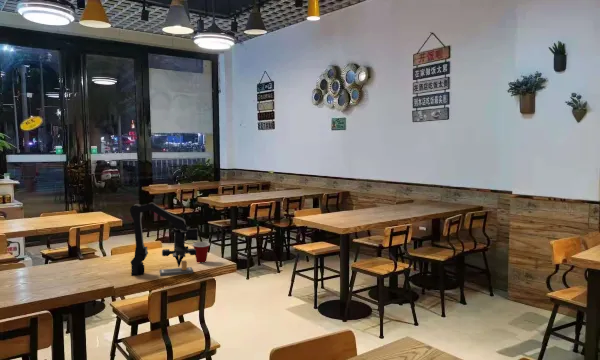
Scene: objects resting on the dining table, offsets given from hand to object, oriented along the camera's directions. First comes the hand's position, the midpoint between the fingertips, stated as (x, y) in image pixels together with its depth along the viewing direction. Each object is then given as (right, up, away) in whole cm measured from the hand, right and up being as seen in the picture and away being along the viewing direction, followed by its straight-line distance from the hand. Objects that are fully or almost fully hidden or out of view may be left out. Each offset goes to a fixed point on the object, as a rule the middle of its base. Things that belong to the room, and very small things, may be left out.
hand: (178, 267), depth 255 cm
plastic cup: (+8, -2, +24) cm, 26 cm away
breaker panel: (-1, -3, 0) cm, 3 cm away
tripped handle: (+3, -1, +1) cm, 3 cm away
